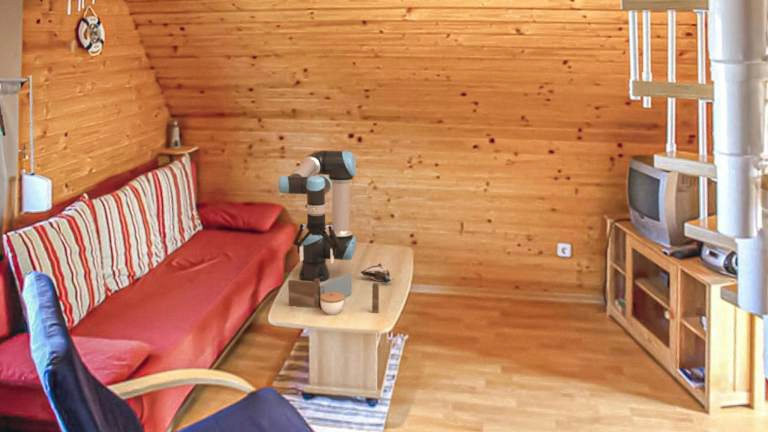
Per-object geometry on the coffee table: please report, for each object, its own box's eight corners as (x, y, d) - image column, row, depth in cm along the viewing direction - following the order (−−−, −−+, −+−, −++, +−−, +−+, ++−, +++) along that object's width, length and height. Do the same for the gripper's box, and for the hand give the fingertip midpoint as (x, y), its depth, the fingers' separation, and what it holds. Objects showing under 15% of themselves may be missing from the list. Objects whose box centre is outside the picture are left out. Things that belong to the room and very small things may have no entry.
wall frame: (290, 304, 323) (289, 276, 319) (378, 311, 316) (378, 282, 312) (288, 306, 321) (288, 278, 317) (377, 313, 314) (378, 284, 310)
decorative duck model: (395, 274, 345) (364, 275, 341) (394, 288, 347) (364, 289, 344) (389, 261, 358) (359, 262, 355) (388, 275, 361) (359, 276, 358)
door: (319, 307, 319) (318, 286, 316) (348, 293, 336) (348, 273, 333) (321, 308, 318) (321, 287, 315) (351, 294, 335) (351, 274, 333)
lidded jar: (322, 318, 308) (322, 298, 305) (318, 309, 318) (317, 289, 315) (346, 315, 311) (346, 295, 308) (341, 306, 321) (341, 287, 318)
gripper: (284, 214, 297) (286, 262, 302) (342, 217, 292) (342, 266, 297) (290, 209, 304) (291, 256, 309) (347, 213, 299) (347, 260, 305)
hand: (316, 261), depth 303 cm, fingers open, 13 cm apart
